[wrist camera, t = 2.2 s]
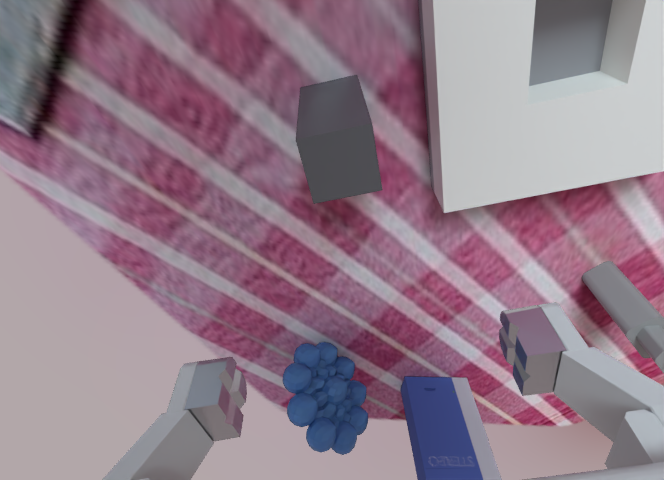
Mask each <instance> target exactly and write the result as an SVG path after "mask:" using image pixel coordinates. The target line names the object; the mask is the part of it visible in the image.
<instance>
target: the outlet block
mask: <svg viewBox="0 0 664 480" xmlns="http://www.w3.org/2000/svg"><path fill="white" fill-rule="evenodd" d="M418 3H419V17H420V31H421V45H422V59H423V73H424V88H425V102H426V116H427V130H428V144H429V158H430V173H431V187H432V189H433V191H434V193H435V195H436V197H437V199H438V202H439V204H440V206H441V208H442V210H443V212H444V213H448V212H453V211H458V210H464V209H469V208H474V207H479V206H484V205H490V204H495V203H500V202H505V201H510V200H516V199H521V198H526V197H531V196H537V195H542V194H547V193H552V192H557V191H563V190H568V189H573V188H578V187H583V186H589V185H594V184H599V183H604V182H610V181H615V180H620V179H625V178H630V177H636V176H641V175H646V174H651V173H656V172H662V171H664V0H418Z"/></svg>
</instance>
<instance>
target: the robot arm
mask: <svg viewBox="0 0 664 480" xmlns="http://www.w3.org/2000/svg"><path fill="white" fill-rule="evenodd" d="M500 321H501V323H502V325H503V327H502V328H501V329H500V330H499V339H500V344H501V349H502V351H503V354H504V357H505V359H506V361H507V362H508V363H509V364H511V365H512V366H513V377H514V379H515V381H516V383H517V385H518V387H519V390H520V392H521V394H522V396H524V395H532V394H541V393H549V392H554V394H555V395H556V396H557V397H559V398H560V399H561V400H562V401H563V402H565V403H566V404H567V405H568V406H570V407H571V408H572V409H573V410H574V411H576V412H577V413H578V414H579V415H581V416H582V417H583V418H584V419H586V420H587V421H588V422H589V423H590V424H592V425H593V426H594V427H595V428H597V429H598V430H599V431H600V432H602V433H603V434H604V435H605V436H607V437H608V438H609V439H610V440H611V441H613V442H614V443H613V445H612V448H611V450H610V453H609V455H608V457H607V460H606V462H605V465H606V467H607V469H604V470H596V471H588V472H581V473H572V474H564V475H556V476H548V477H540V478H532V479H524V480H664V386H662V385H661V384H659V383H657V382H655V381H654V380H652V379H650V378H648V377H647V376H645V375H643V374H641V373H639V372H638V371H636V370H634V369H632V368H631V367H629V366H627V365H625V364H624V363H622V362H620V361H618V360H617V359H615V358H613V357H611V356H609V355H608V354H606V353H604V352H602V351H601V350H599V349H597V348H595V347H590V348H589V347H588V346H587V344H586V343H585V341H584V340H583V338H582V337H581V335H580V334H579V333H578V331H577V330H576V328H575V327H574V325H573V324H572V322H571V321H570V319H569V318H568V316H567V315H566V313H565V312H564V310H563V309H562V308H561V306H560V305H559V304H558V303H556V302H554V303H548V304H542V305H537V306H536V305H534V306H528V307H523V308H517V309H512V310H506V311H502V312H501V314H500ZM236 364H237V363H236V362H235V360H234V359H233V357H227V358H220V359H213V360H206V361H199V362H193V363H186V364H184V365H183V366H182V367H181V369H180V372H179V375H178V378H177V381H176V384H175V387H174V390H173V394H172V397H171V400H170V403H169V407H168V409H167V413H163V414H161V415H160V416H159V418H158V419H157V420H156V421H155V422H154V423H153V424H152V426H150V428H149V429H148V430H147V431H146V432H145V433H144V434H143V435H142V436H141V437H140V439H139V440H138V441H137V442H136V443H135V444H134V445H133V446H132V447H131V448H130V450H129V451H128V452H127V453H126V454H125V455H124V456H123V457H122V458H121V459H120V461H119V462H118V463H117V464H116V465H115V466H114V467H113V468H112V470H111V471H110V472H109V473H108V474H107V475H106V476H105V477H104V478H103V479H102V480H191V478H192V476H193V475H194V473H195V472H196V470H197V469H198V467H199V465H200V464H201V462H202V461H203V459H204V458H205V456H206V455H207V453H208V452H209V450H210V448H211V447H212V445H213V444H214V442H213V441H219V440H225V439H230V438H236V437H240V435H241V429H242V422H243V414H242V413H241V411H240V408H241V407H242V406H243V405H244V403H245V402H246V395H247V390H246V381H245V378H244V375H243V374H242V372H241V371H239V370H237V369H236Z"/></svg>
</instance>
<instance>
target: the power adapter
mask: <svg viewBox="0 0 664 480" xmlns="http://www.w3.org/2000/svg"><path fill="white" fill-rule="evenodd" d="M582 280H583V281H584V283H585V284H586V285H587V287H588V288H589V289H590V291H591V292H592V293H593V295H594V296H595V297H596V299H597V300H598V301H599V302H600V304H601V305H602V306H603V308H604V309H605V310H606V311H607V313H608V314H609V315H610V316H611V318H612V319H613V320H614V322H615V323H616V324H617V325H618V327H619V328H620V329H621V331H622V332H623V333H624V334H625V336H626V337H627V338H628V340H629V341H630V342H631V343H632V345H633V346H634V347H635V348H636V350H637V351H638V352H639V354H640V355H641V356H642V357H643V358H650V357H651V358H652V359H653V361H654V362H655V363H656V364H657V366H658V367H659V368H660V369H661V371H662V372H663V373H664V317H663V316H662V315H661V314H660V313H659V312H658V311H657V310H656V309H655V308H654V307H653V305H652V304H651V303H650V302H649V301H648V300H647V299H646V298H645V297H644V296H643V295H642V293H641V292H640V291H639V290H638V289H637V288H636V287H635V286H634V285H633V284H632V283H631V282H630V280H629V279H628V278H627V277H626V276H625V275H624V274H623V273H622V272H621V271H620V270H619V268H618V267H617V266H616V265H615V264H614V263H613V262H611V261H608V262H604V263H602V264H600V265H598V266H596V267H595V268H593V269H591V270H589V271H587V272H586V273H584V274H583V276H582Z"/></svg>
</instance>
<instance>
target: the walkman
mask: <svg viewBox="0 0 664 480" xmlns="http://www.w3.org/2000/svg"><path fill="white" fill-rule="evenodd" d="M401 394H402V400H403V405H404V410H405V415H406V420H407V426H408V431H409V436H410V441H411V446H412V451H413V457H414V462H415V467H416V472H417V478H418V480H502V479H501V476H500V473H499V471H498V467H497V464H496V462H495V459H494V456H493V453H492V450H491V447H490V444H489V442H488V441H489V440H488V437H487V434H486V432H485V429H484V426H483V423H482V420H481V417H480V414H479V411H478V409H477V406H476V403H475V400H474V397H473V394H472V391H471V388H470V386H469V383H468V380H467V378H456V377H451V378H450V377H405V378H404V381H403V384H402V387H401Z"/></svg>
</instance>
